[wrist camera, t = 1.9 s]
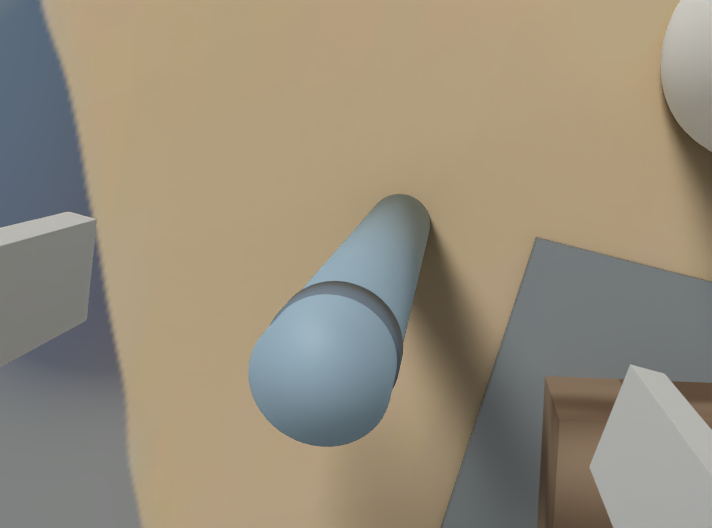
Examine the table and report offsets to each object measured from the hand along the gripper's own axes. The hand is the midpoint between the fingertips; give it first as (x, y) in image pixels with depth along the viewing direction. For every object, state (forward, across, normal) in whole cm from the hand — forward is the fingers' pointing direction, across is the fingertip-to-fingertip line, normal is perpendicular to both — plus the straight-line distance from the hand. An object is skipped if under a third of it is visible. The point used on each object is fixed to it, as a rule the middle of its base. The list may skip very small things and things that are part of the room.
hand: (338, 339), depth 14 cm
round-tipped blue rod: (+13, 0, 0) cm, 13 cm away
